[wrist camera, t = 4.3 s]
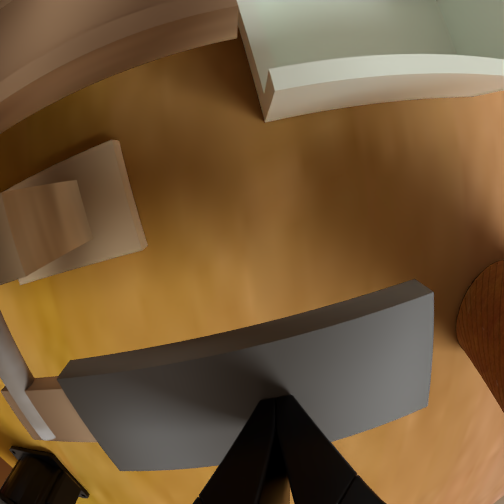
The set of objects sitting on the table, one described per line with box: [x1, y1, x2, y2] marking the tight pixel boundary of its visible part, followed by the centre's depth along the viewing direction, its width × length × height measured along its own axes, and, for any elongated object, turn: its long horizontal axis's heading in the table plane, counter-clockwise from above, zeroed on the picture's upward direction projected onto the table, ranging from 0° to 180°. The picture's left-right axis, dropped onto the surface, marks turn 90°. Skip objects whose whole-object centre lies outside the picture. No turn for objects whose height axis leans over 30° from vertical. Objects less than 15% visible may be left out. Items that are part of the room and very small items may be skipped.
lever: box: [0, 0, 434, 471], centre depth 8 cm, size 23×19×5 cm
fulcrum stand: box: [0, 140, 148, 285], centre depth 10 cm, size 8×13×6 cm, turn 14°
